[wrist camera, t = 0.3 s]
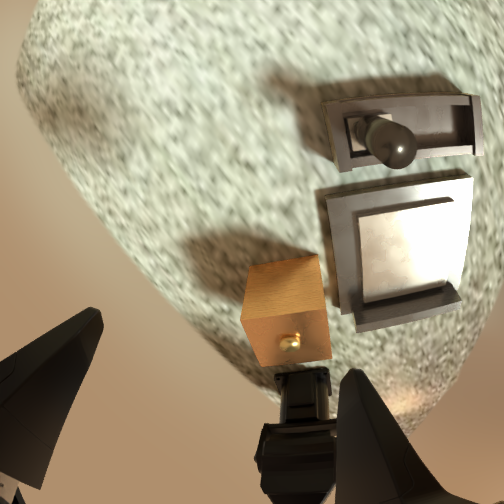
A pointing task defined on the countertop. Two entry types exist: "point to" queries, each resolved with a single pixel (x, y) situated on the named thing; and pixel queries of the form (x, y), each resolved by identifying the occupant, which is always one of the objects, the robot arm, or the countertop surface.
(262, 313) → the block
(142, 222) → the countertop surface
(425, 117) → the lever track
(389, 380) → the countertop surface
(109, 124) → the countertop surface
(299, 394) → the robot arm
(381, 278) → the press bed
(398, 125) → the lever
